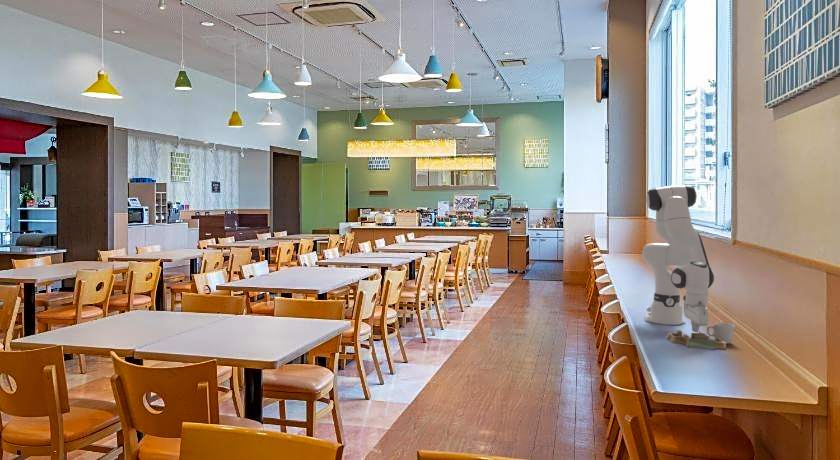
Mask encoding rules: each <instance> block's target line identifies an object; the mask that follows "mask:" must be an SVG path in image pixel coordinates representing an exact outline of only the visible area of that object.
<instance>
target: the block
mask: <svg viewBox="0 0 840 460" xmlns="http://www.w3.org/2000/svg"><path fill="white" fill-rule="evenodd" d="M704 333H705V332H704ZM704 333H699V332H691V333H690V334H691V335H690V338H692V339H708V336H709V335H708V334H707V335H708V336H707V335H705V334H706V333H705V334H704Z"/></svg>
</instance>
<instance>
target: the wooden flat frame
mask: <svg viewBox="0 0 840 460" xmlns="http://www.w3.org/2000/svg"><path fill="white" fill-rule="evenodd" d="M698 333H704V334H705V335H707V336H708V339H692V338H691V336H689V335H688V334H685V333H684V334H683V331H682V330H680V329H679V330H678V329H677V331H676V332H667V337H666V338H667V340H669V341H670V342H671V343H673V344H684V345H685V346H687V347H688V348H692V349H693V348H694V349H709V350H710V349H711V350H712V349H713V350H716V349H722V350H723V349H725V350H726V349H727V344H726V342H724V341H723V340H721V339H715V337H712V338H710V337H711V336H709V335H708V334H706V333H705V332H704V331H698Z"/></svg>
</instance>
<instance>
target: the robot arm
mask: <svg viewBox="0 0 840 460" xmlns="http://www.w3.org/2000/svg"><path fill="white" fill-rule="evenodd" d="M697 196H698V195H697V192H696V189H695V187H694V186H693V185H691V184H684V185H683V184H682V185H680V184H679V185H677V184H676V185H669V186H662V187H657V188H656V187H655V188H650V189H648V191H647V192H646V196H645V202H646V203H645V204H646V205H647V207H648V209H650V210H651V211H655V226H656V228H655V230H656V234H657V235H658V236H659V237H660V238H662V239H664V240H665V241H666V242H667V243H665V242H664V243H661V242H651V243H646V244H645V245H644V246H643V249H642V251H641V257H642V259H643V261H644V262H645V263H646V264H647V265H648V266H649V267H650V269H651V271H652V272H653V274H654V275H653V276H654V282H655V289H654V293H653V301H652V303H651V304H650V305H649V306H647V307H646V312H647V313H648V314H644V318H645V322H650V323H654V324H658V325H659V324H660V325H668V326H671V325H673V326H674V325H675V326H677V325H681V324H682V325H683V324H686V321H685V320H684V319H683V313H684V316H685V318H688V319H689V320H690V324H691V331H693V333H699V329H700V327H701V326H702V327H708V326H709V309H708V307H706V306H708V305H709V288H710V287H711V286H712V285H713V283H714V282H715V276H714V273H713V270H712V267H711V266H710V263H709V259H708V256H707V254H706V250H705V245H704V244H703V243H704V242H703V240H702V238H701V235H700V233H699V232H697V231H696V230H695V228H694V226H693V224H692V218H691V213H690V209H689V208H691V207H693V206H694V205H696V203H697ZM669 267H675V268H674V269H673V271H672V272H671V271H670V270H669ZM680 290H685V291H686V292H685V294H683V296H682V300H683V306H682V305H681V304H680V302H681V301H680V300H681V295H680Z"/></svg>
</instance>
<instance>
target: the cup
mask: <svg viewBox="0 0 840 460" xmlns="http://www.w3.org/2000/svg"><path fill="white" fill-rule="evenodd" d="M735 326H736V325H735V324H732V323H729V322H728V323H727V322H715V323H714V324H711V325H707V326H706V327H707V328H706V333H707V335H708V336H710V337H712V338H715V339H721V340H723V341H724V342H726V345H730V344H732V342H733V339H734V333H735ZM711 328H712V329H713V333H710V329H711Z"/></svg>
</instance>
